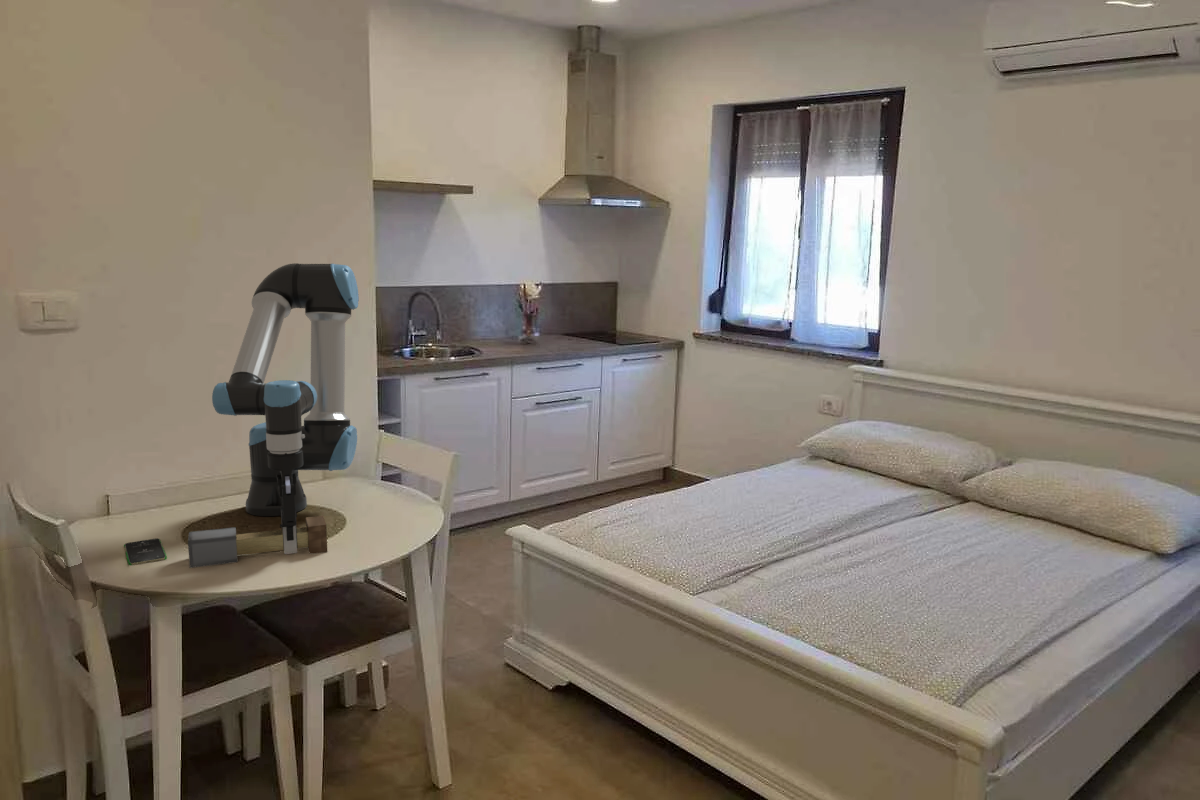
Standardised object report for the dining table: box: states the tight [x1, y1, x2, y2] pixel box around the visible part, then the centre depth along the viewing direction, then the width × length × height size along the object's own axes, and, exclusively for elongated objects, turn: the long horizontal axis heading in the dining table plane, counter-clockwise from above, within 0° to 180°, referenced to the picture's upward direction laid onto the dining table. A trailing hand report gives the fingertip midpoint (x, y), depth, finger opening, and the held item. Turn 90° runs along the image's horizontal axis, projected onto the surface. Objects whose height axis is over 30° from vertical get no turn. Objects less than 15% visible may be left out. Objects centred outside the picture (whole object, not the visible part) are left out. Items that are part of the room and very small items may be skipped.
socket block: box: [305, 515, 328, 555], centre depth 198 cm, size 4×7×6 cm, turn 23°
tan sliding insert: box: [236, 507, 309, 556], centre depth 194 cm, size 18×4×9 cm, turn 113°
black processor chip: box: [123, 538, 168, 566], centre depth 194 cm, size 8×1×15 cm
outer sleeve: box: [187, 527, 238, 569], centre depth 190 cm, size 10×6×6 cm
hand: (290, 549), depth 196 cm, fingers closed on tan sliding insert, 4 cm apart
